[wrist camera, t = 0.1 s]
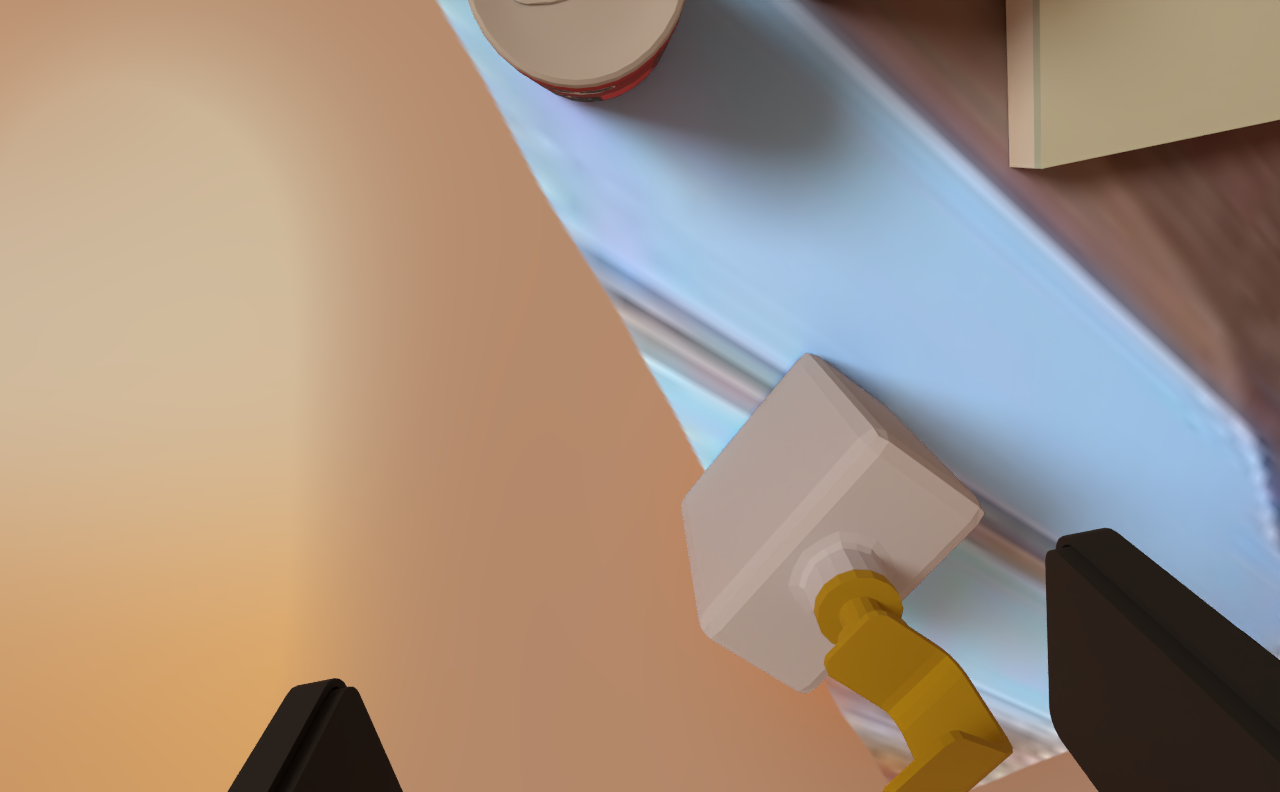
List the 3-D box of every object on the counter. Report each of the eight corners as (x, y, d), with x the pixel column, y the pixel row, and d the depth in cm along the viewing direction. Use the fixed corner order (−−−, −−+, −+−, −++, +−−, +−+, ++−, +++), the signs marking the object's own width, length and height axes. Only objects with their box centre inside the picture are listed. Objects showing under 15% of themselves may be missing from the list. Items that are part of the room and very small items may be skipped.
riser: (1003, -97, 33) (1038, -119, 30) (1265, -156, 33) (1325, -184, 30) (1009, 166, 37) (1041, 168, 34) (1242, 118, 37) (1294, 116, 34)
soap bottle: (804, 344, 40) (1021, 587, 18) (890, 408, 42) (1187, 704, 20) (675, 500, 44) (728, 867, 22) (759, 554, 45) (889, 951, 23)
